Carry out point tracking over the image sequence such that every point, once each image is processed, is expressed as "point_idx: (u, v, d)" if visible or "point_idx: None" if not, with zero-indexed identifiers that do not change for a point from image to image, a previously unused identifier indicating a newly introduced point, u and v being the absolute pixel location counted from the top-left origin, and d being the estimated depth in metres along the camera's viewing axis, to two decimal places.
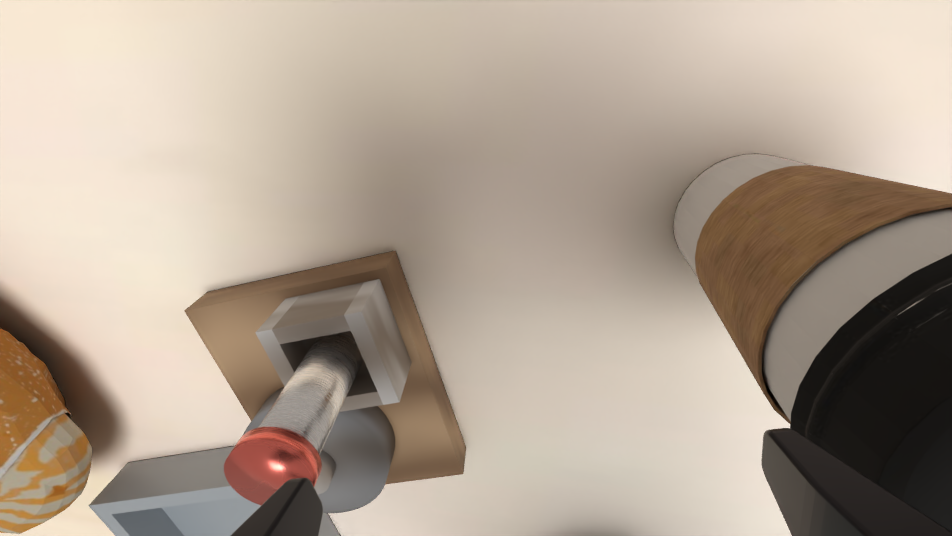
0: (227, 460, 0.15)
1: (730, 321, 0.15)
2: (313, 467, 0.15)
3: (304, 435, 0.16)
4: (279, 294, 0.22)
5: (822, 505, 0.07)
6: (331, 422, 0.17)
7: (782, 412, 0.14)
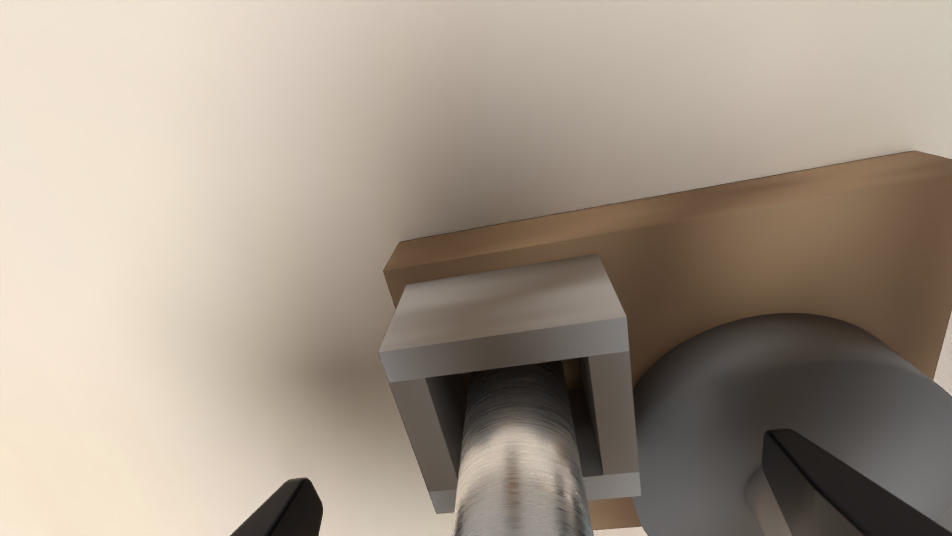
0: None
1: None
2: None
3: None
4: None
5: (822, 505, 0.07)
6: (535, 529, 0.07)
7: None
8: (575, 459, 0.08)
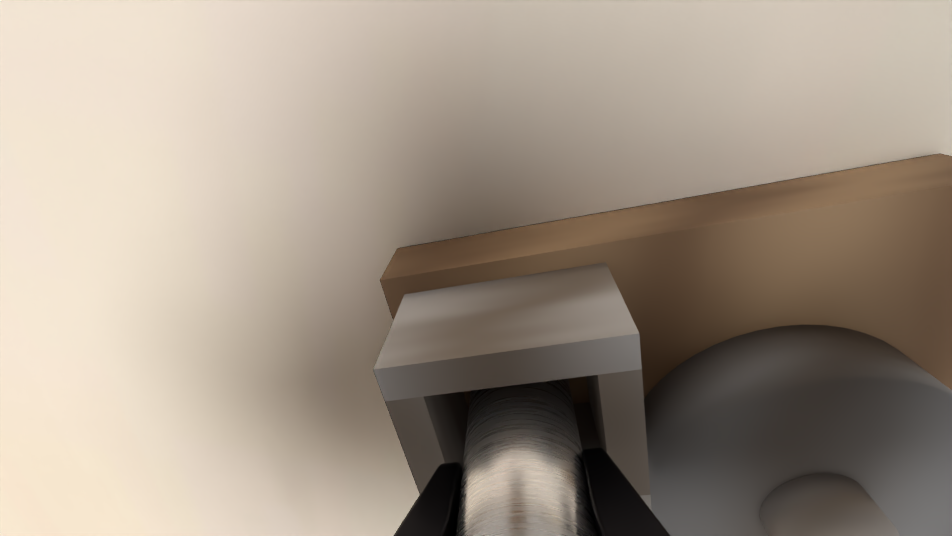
0: None
1: None
2: None
3: None
4: None
5: (596, 523, 0.07)
6: None
7: None
8: (584, 487, 0.08)
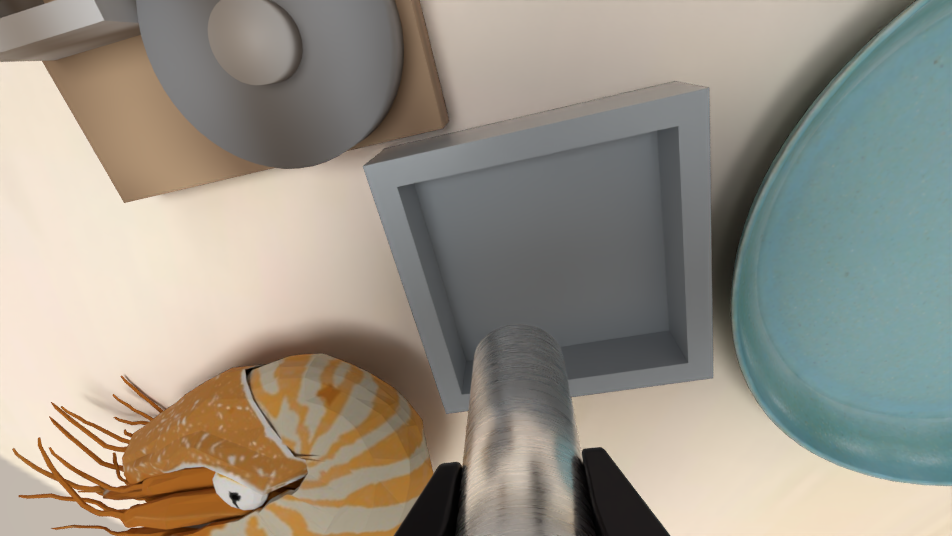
0: None
1: None
2: None
3: None
4: (51, 67, 0.17)
5: (596, 523, 0.07)
6: None
7: None
8: (583, 488, 0.08)
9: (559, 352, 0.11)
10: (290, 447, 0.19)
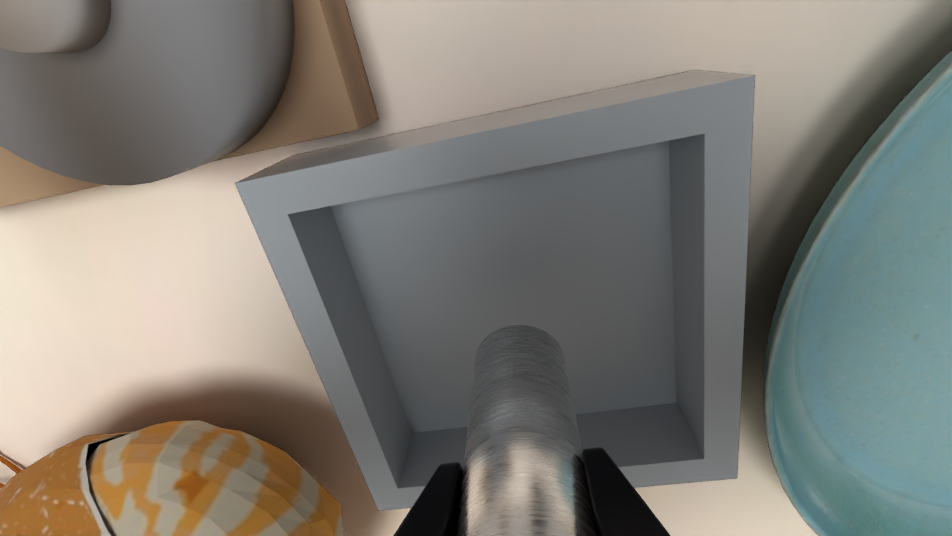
0: None
1: None
2: None
3: None
4: None
5: (596, 523, 0.07)
6: None
7: None
8: (585, 490, 0.08)
9: (560, 353, 0.11)
10: None
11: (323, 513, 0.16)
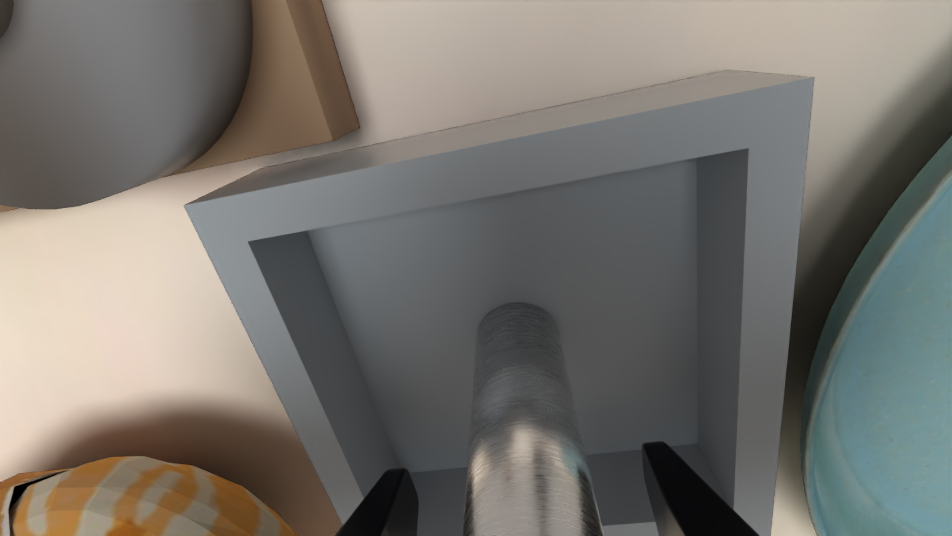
0: None
1: None
2: None
3: None
4: None
5: (669, 517, 0.07)
6: (544, 498, 0.07)
7: None
8: (578, 437, 0.09)
9: (555, 327, 0.12)
10: None
11: None
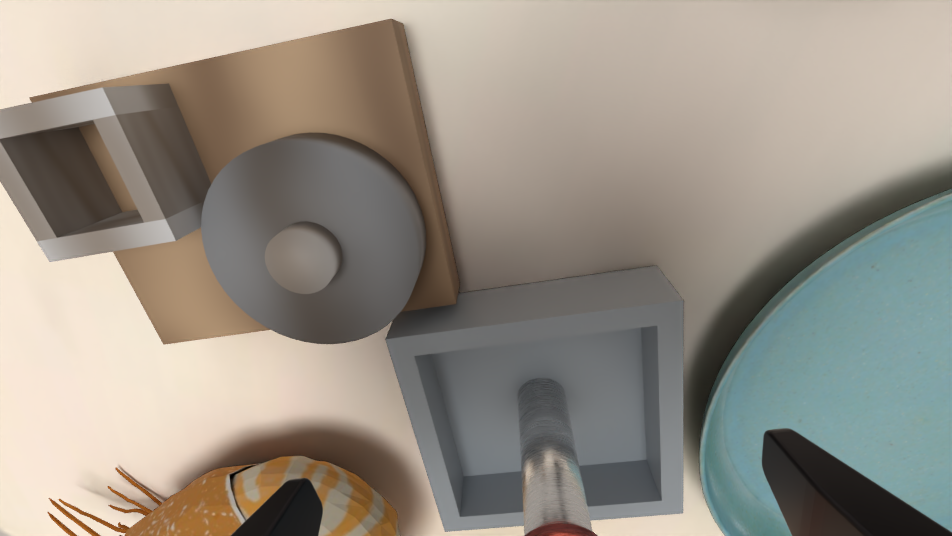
0: None
1: None
2: None
3: (539, 524, 0.16)
4: None
5: (822, 505, 0.07)
6: (561, 482, 0.17)
7: None
8: (575, 456, 0.19)
9: (563, 393, 0.22)
10: None
11: (388, 518, 0.23)
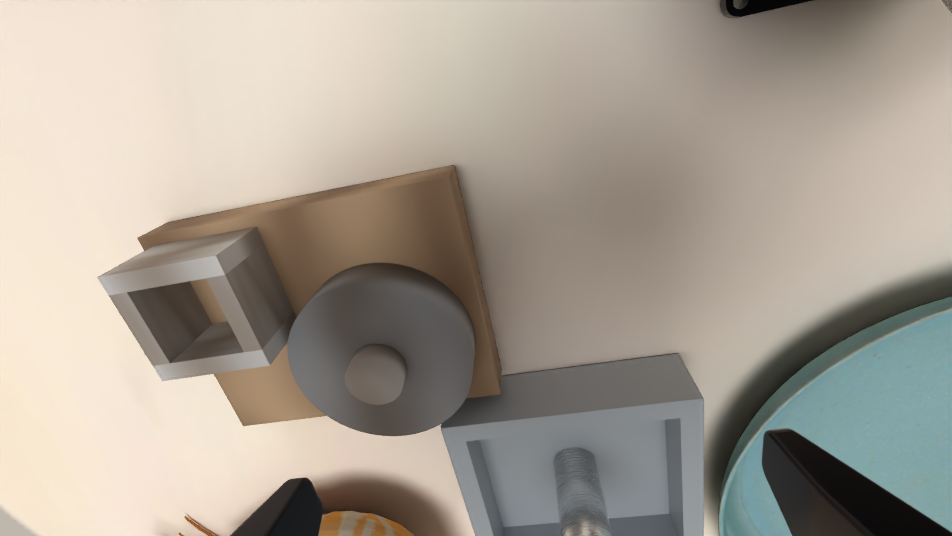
0: None
1: None
2: None
3: None
4: None
5: (822, 505, 0.07)
6: None
7: None
8: (609, 529, 0.21)
9: (594, 461, 0.25)
10: None
11: None
